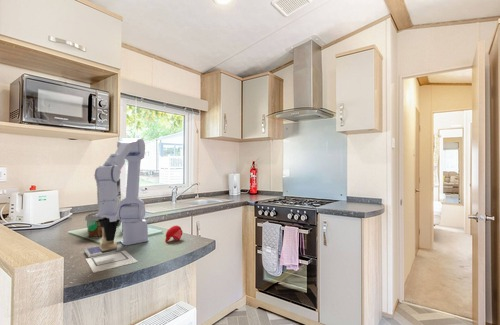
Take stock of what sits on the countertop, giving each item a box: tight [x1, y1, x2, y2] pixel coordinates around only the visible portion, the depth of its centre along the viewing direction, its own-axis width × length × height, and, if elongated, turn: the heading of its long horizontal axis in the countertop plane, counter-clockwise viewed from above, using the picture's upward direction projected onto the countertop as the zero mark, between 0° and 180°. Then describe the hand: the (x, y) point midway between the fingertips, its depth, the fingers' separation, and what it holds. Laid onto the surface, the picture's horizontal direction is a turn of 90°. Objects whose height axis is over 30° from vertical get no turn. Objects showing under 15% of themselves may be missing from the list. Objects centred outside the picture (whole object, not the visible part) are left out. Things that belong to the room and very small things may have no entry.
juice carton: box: [96, 178, 122, 226], centre depth 150 cm, size 9×10×27 cm
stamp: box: [99, 227, 118, 253], centre depth 94 cm, size 4×4×8 cm
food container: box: [84, 212, 103, 238], centre depth 127 cm, size 12×6×10 cm, turn 40°
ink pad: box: [84, 245, 117, 258], centre depth 102 cm, size 9×9×1 cm
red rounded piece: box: [164, 225, 183, 243], centre depth 116 cm, size 8×6×6 cm
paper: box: [85, 250, 138, 273], centre depth 93 cm, size 13×16×1 cm
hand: (109, 239), depth 94 cm, fingers closed on stamp, 3 cm apart
